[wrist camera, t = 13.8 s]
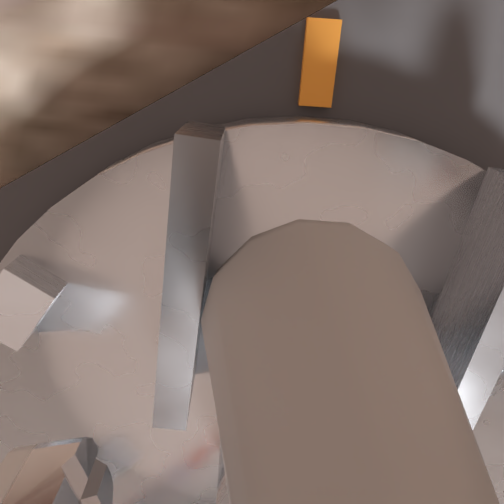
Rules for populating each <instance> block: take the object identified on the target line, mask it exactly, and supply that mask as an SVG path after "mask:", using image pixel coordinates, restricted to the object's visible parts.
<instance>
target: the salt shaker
mask: <svg viewBox="0 0 504 504" xmlns="http://www.w3.org/2000/svg"><path fill="white" fill-rule="evenodd" d="M201 326H202V332H203V338H204V344H205V349H206V355H207V361H208V367H209V373H210V379H211V385H212V390H213V396H214V402H215V408H216V415H217V422H218V429H219V436H220V443H221V450H222V457H223V464H224V471H225V478H226V485H227V492H228V499H229V504H500V503H499V500H498V498H497V495H496V492H495V489H494V487H493V484H492V481H491V479H490V476H489V473H488V471H487V468H486V465H485V463H484V460H483V457H482V454H481V452H480V449H479V446H478V444H477V441H476V438H475V436H474V433H473V430H472V428H471V425H470V422H469V420H468V417H467V414H466V411H465V409H464V406H463V403H462V401H461V398H460V395H459V393H458V390H457V387H456V385H455V382H454V379H453V376H452V374H451V371H450V368H449V366H448V363H447V360H446V358H445V355H444V352H443V350H442V347H441V344H440V341H439V339H438V336H437V333H436V331H435V328H434V325H433V323H432V320H431V317H430V315H429V312H428V309H427V306H426V304H425V301H424V298H423V296H422V293H421V291H420V289H419V287H418V286H417V284H416V282H415V280H414V279H413V277H412V275H411V273H410V272H409V270H408V268H407V266H406V265H405V263H404V261H403V259H402V258H401V256H400V254H399V253H398V252H397V251H395V250H394V249H393V248H391V247H390V246H388V245H387V244H385V243H383V242H381V241H380V240H378V239H376V238H374V237H373V236H371V235H369V234H368V233H366V232H364V231H362V230H361V229H359V228H357V227H356V226H354V225H352V224H350V223H345V222H331V221H318V220H305V219H297V220H295V221H292V222H289V223H286V224H284V225H281V226H278V227H276V228H273V229H270V230H268V231H265V232H262V233H259V234H257V235H254V236H251V237H250V238H249V239H248V240H247V241H246V242H245V243H244V244H243V245H242V246H241V247H240V248H239V249H238V250H237V251H236V252H235V253H234V254H233V255H232V256H231V257H230V258H229V259H228V260H227V261H226V262H225V263H224V264H223V265H222V266H221V267H220V268H218V269H217V271H216V273H215V275H214V277H213V279H212V283H211V286H210V290H209V293H208V296H207V300H206V303H205V307H204V310H203V314H202V317H201Z"/></svg>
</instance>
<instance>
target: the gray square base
mask: <svg viewBox="0 0 504 504" xmlns="http://www.w3.org/2000/svg"><path fill="white" fill-rule="evenodd" d="M285 116H307V117H318V118H329V119H341V120H350V121H354V122H358V123H362V124H367V125H371V126H375V127H380V128H384V129H388V130H393V131H396V132H399V133H401V134H404V135H406V136H409V137H411V138H414V139H416V140H419V141H422V142H424V143H427V144H429V145H432V146H434V147H437V148H439V149H442V150H444V151H447V152H449V153H451V154H454V155H456V156H459V157H461V158H463V159H466V160H468V161H470V162H472V163H473V164H475V165H477V166H478V167H480V168H482V169H484V170H485V171H487V169H488V167H492V168H498V169H504V0H337V1H335V2H333V3H331V4H330V5H328V6H326V7H324V8H323V9H321V10H319V11H317V12H315V13H314V14H312V15H310V16H308V17H306V18H305V19H303V20H301V21H299V22H297V23H296V24H294V25H292V26H290V27H288V28H287V29H285V30H283V31H281V32H279V33H278V34H276V35H274V36H272V37H271V38H269V39H267V40H265V41H263V42H262V43H260V44H258V45H256V46H254V47H253V48H251V49H249V50H247V51H245V52H244V53H242V54H240V55H238V56H236V57H235V58H233V59H231V60H229V61H227V62H226V63H224V64H222V65H220V66H219V67H217V68H215V69H213V70H211V71H210V72H208V73H206V74H204V75H202V76H201V77H199V78H197V79H195V80H193V81H192V82H190V83H188V84H186V85H184V86H183V87H181V88H179V89H177V90H176V91H174V92H172V93H170V94H168V95H167V96H165V97H163V98H161V99H159V100H158V101H156V102H154V103H152V104H150V105H149V106H147V107H145V108H143V109H141V110H140V111H138V112H136V113H134V114H132V115H131V116H129V117H127V118H125V119H124V120H122V121H120V122H118V123H116V124H115V125H113V126H111V127H109V128H107V129H106V130H104V131H102V132H100V133H98V134H97V135H95V136H93V137H91V138H89V139H88V140H86V141H84V142H82V143H81V144H79V145H77V146H75V147H73V148H72V149H70V150H68V151H66V152H64V153H63V154H61V155H59V156H57V157H55V158H54V159H52V160H50V161H48V162H46V163H45V164H43V165H41V166H39V167H37V168H36V169H34V170H32V171H30V172H29V173H27V174H25V175H23V176H21V177H20V178H18V179H16V180H14V181H12V182H11V183H9V184H7V185H5V186H3V187H2V188H0V262H1V261H2V260H3V258H4V257H5V256H6V254H7V253H8V252H9V250H10V249H11V248H12V246H13V245H14V243H15V242H16V241H17V240H18V239H19V238H20V237H21V236H22V235H23V234H24V233H25V232H26V231H27V230H28V229H29V228H30V227H31V226H32V225H33V224H34V223H35V222H36V221H37V220H38V219H39V218H40V217H41V216H42V215H44V214H45V213H46V212H47V211H48V210H49V209H50V208H51V207H52V206H54V205H55V204H56V203H58V202H59V201H60V200H62V199H63V198H65V197H66V196H67V195H69V194H70V193H72V192H73V191H74V190H76V189H77V188H79V187H80V186H82V185H83V184H84V183H86V182H87V181H89V180H90V179H92V178H93V177H94V176H96V175H97V174H99V173H100V172H102V171H103V170H104V169H106V168H107V167H109V166H110V165H112V164H113V163H115V162H117V161H119V160H121V159H123V158H125V157H127V156H129V155H131V154H133V153H135V152H137V151H139V150H141V149H143V148H145V147H147V146H149V145H151V144H153V143H155V142H158V141H161V140H164V139H167V138H170V137H173V136H174V134H175V133H176V132H177V131H178V130H179V129H180V128H181V127H182V126H183V125H184V124H185V123H187V122H188V121H189V120H190V121H196V122H202V123H209V124H215V125H216V124H221V123H227V122H232V121H237V120H243V119H248V118H265V117H285Z"/></svg>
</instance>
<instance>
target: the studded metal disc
mask: <svg viewBox="0 0 504 504" xmlns="http://www.w3.org/2000/svg"><path fill="white" fill-rule="evenodd" d="M297 219H305V220H318V221H331V222H345V223H350V224H352V225H354V226H356V227H357V228H359V229H361V230H362V231H364V232H366V233H368V234H369V235H371V236H373V237H374V238H376V239H378V240H380V241H381V242H383V243H385V244H387V245H388V246H390V247H391V248H393V249H394V250H395V251H397V252H398V253H399V254H400V256H401V258H402V259H403V261H404V263H405V265H406V266H407V268H408V270H409V272H410V273H411V275H412V277H413V279H414V280H415V282H416V284H417V286H418V287H419V289H420V291H421V293H422V296H423V298H424V301H425V304H426V306H427V309H428V312H429V315H430V317H431V320H432V323H433V325H434V328H435V331H436V333H437V336H438V339H439V341H440V344H441V347H442V350H443V352H444V355H445V358H446V360H447V363H448V366H449V368H450V371H451V374H452V376H453V379H454V382H455V385H456V387H457V390H458V393H459V395H460V398H461V401H462V403H463V406H464V409H465V411H466V414H467V417H468V420H469V422H470V425H471V428H472V430H473V433H474V436H475V438H476V441H477V444H478V446H479V449H480V452H481V454H482V457H483V460H484V463H485V465H486V468H487V471H488V473H489V476H490V479H491V481H492V484H493V487H494V489H495V492H496V495H497V498H498V500H499V503H500V504H504V169H498V168H492V167H488V169H487V171H485V170H484V169H482V168H480V167H478V166H477V165H475V164H473V163H472V162H470V161H468V160H466V159H463V158H461V157H459V156H456V155H454V154H451V153H449V152H447V151H444V150H442V149H439V148H437V147H434V146H432V145H429V144H427V143H424V142H422V141H419V140H416V139H414V138H411V137H409V136H406V135H404V134H401V133H399V132H396V131H393V130H388V129H384V128H380V127H375V126H371V125H367V124H362V123H358V122H354V121H350V120H341V119H329V118H318V117H307V116H285V117H265V118H248V119H243V120H237V121H232V122H227V123H221V124H216V125H215V124H209V123H202V122H196V121H190V120H189V121H188V122H187V123H185V124H184V125H183V126H182V127H181V128H180V129H179V130H178V131H177V132H176V133H175V134H174V136H173V137H170V138H167V139H164V140H161V141H158V142H155V143H153V144H151V145H149V146H147V147H145V148H143V149H141V150H139V151H137V152H135V153H133V154H131V155H129V156H127V157H125V158H123V159H121V160H119V161H117V162H115V163H113V164H112V165H110V166H109V167H107V168H106V169H104V170H103V171H102V172H100V173H99V174H97V175H96V176H94V177H93V178H92V179H90V180H89V181H87V182H86V183H84V184H83V185H82V186H80V187H79V188H77V189H76V190H74V191H73V192H72V193H70V194H69V195H67V196H66V197H65V198H63V199H62V200H60V201H59V202H58V203H56V204H55V205H54V206H52V207H51V208H50V209H49V210H48V211H47V212H46V213H45V214H44V215H42V216H41V217H40V218H39V219H38V220H37V221H36V222H35V223H34V224H33V225H32V226H31V227H30V228H29V229H28V230H27V231H26V232H25V233H24V234H23V235H22V236H21V237H20V238H19V239H18V240H17V241H16V242H15V243H14V245H13V246H12V248H11V249H10V250H9V252H8V253H7V254H6V256H5V257H4V258H3V260H2V261H1V262H0V465H1V463H2V461H3V460H4V458H5V457H6V455H7V453H8V452H10V451H11V450H13V449H14V448H15V447H20V446H28V445H35V444H39V443H45V442H52V441H60V440H67V439H74V438H81V437H91V438H93V439H94V441H95V443H96V445H97V446H98V448H99V452H98V454H97V457H96V459H97V460H99V461H101V462H102V463H104V464H106V465H107V466H108V468H109V471H110V473H111V476H112V481H113V502H112V504H229V499H228V492H227V485H226V478H225V471H224V464H223V457H222V450H221V443H220V436H219V429H218V422H217V415H216V408H215V402H214V396H213V390H212V385H211V379H210V373H209V367H208V361H207V355H206V349H205V344H204V338H203V332H202V326H201V317H202V314H203V310H204V307H205V303H206V300H207V296H208V293H209V290H210V286H211V283H212V279H213V277H214V275H215V273H216V271H217V269H218V268H220V267H221V266H222V265H223V264H224V263H225V262H226V261H227V260H228V259H229V258H230V257H231V256H232V255H233V254H234V253H235V252H236V251H237V250H238V249H239V248H240V247H241V246H242V245H243V244H244V243H245V242H246V241H247V240H248V239H249V238H250V237H251V236H254V235H257V234H259V233H262V232H265V231H268V230H270V229H273V228H276V227H278V226H281V225H284V224H286V223H289V222H292V221H295V220H297Z"/></svg>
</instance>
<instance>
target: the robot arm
mask: <svg viewBox="0 0 504 504" xmlns="http://www.w3.org/2000/svg"><path fill="white" fill-rule="evenodd" d="M98 452H99V448H98V446H97V445H96V443H95V441H94V439H93V438H91V437H81V438H74V439H67V440H60V441H52V442H45V443H39V444H35V445H28V446H20V447H15V448H14V449H13V450H11V451H10V452H8V453H7V455H6V457H5V458H4V460H3V461H2V463H1V465H0V504H112V502H113V481H112V476H111V473H110V471H109V468H108V466H107V465H106V464H104V463H102V462H101V461H99V460H97V459H96V457H97V454H98Z"/></svg>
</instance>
